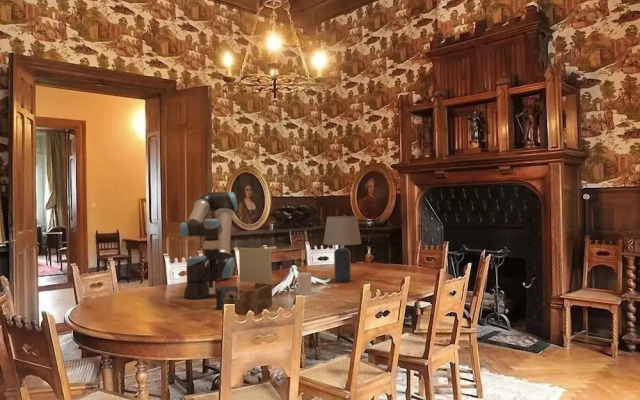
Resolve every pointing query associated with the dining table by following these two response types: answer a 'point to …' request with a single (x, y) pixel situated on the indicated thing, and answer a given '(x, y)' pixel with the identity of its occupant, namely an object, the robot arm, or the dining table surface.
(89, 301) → the dining table surface
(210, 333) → the dining table surface
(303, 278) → the mug
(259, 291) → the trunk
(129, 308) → the dining table surface
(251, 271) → the lid
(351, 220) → the lamp
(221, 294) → the small box
